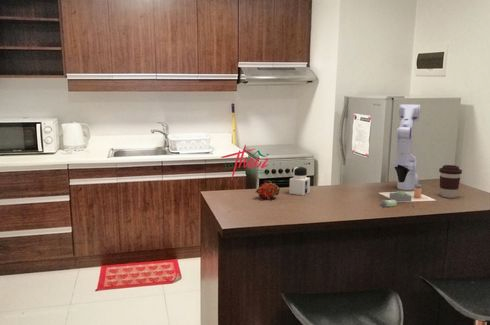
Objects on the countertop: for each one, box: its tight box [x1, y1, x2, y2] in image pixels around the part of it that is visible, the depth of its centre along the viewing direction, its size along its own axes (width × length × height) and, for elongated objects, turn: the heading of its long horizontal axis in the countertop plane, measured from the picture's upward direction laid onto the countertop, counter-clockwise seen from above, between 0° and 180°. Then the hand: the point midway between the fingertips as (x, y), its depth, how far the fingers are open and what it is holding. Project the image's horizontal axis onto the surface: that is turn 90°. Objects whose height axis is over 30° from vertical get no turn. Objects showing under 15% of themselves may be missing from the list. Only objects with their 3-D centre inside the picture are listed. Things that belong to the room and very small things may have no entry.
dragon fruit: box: [255, 181, 281, 200], centre depth 203 cm, size 8×8×12 cm
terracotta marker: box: [413, 183, 423, 198], centre depth 202 cm, size 3×3×6 cm
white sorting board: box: [379, 190, 437, 203], centre depth 205 cm, size 20×18×3 cm
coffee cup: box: [438, 164, 463, 199], centre depth 208 cm, size 10×10×15 cm
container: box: [288, 166, 311, 196], centre depth 213 cm, size 8×8×13 cm
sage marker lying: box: [379, 199, 398, 209], centre depth 189 cm, size 6×3×3 cm, turn 99°
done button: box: [395, 190, 406, 196], centre depth 199 cm, size 4×4×3 cm
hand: (401, 182), depth 198 cm, fingers closed
